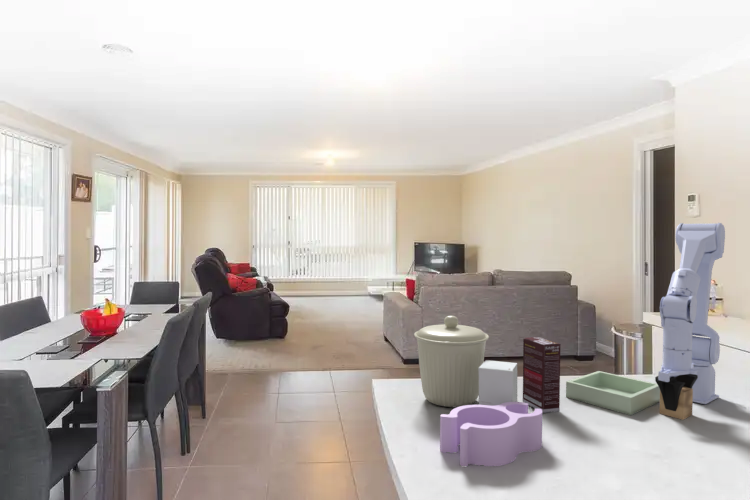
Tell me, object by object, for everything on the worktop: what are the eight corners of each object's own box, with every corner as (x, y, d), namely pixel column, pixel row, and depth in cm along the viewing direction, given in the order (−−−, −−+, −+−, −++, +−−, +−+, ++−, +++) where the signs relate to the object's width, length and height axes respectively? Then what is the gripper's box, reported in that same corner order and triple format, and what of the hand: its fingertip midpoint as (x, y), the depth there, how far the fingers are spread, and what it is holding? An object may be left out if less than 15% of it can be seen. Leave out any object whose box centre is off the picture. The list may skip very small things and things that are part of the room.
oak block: (668, 408, 118) (669, 383, 118) (692, 414, 114) (692, 388, 114) (659, 413, 115) (659, 387, 115) (683, 419, 111) (683, 393, 111)
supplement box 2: (560, 411, 116) (561, 343, 116) (542, 413, 115) (543, 344, 114) (538, 399, 125) (539, 336, 124) (521, 401, 123) (522, 337, 123)
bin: (598, 385, 136) (598, 370, 136) (661, 400, 124) (661, 384, 124) (566, 397, 127) (566, 381, 126) (630, 415, 114) (630, 397, 114)
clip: (512, 429, 106) (513, 397, 106) (557, 452, 95) (557, 416, 95) (432, 446, 98) (432, 411, 97) (470, 474, 86) (471, 434, 86)
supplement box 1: (518, 418, 112) (518, 362, 111) (512, 430, 105) (513, 370, 105) (485, 413, 115) (485, 359, 114) (477, 425, 108) (477, 366, 108)
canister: (474, 419, 111) (475, 324, 111) (401, 405, 120) (401, 318, 120) (497, 396, 127) (497, 313, 127) (430, 385, 136) (431, 308, 135)
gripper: (683, 356, 107) (682, 419, 107) (709, 346, 116) (707, 405, 116) (648, 350, 112) (647, 410, 113) (675, 341, 121) (674, 397, 122)
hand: (675, 407), depth 115 cm, fingers closed on oak block, 5 cm apart
